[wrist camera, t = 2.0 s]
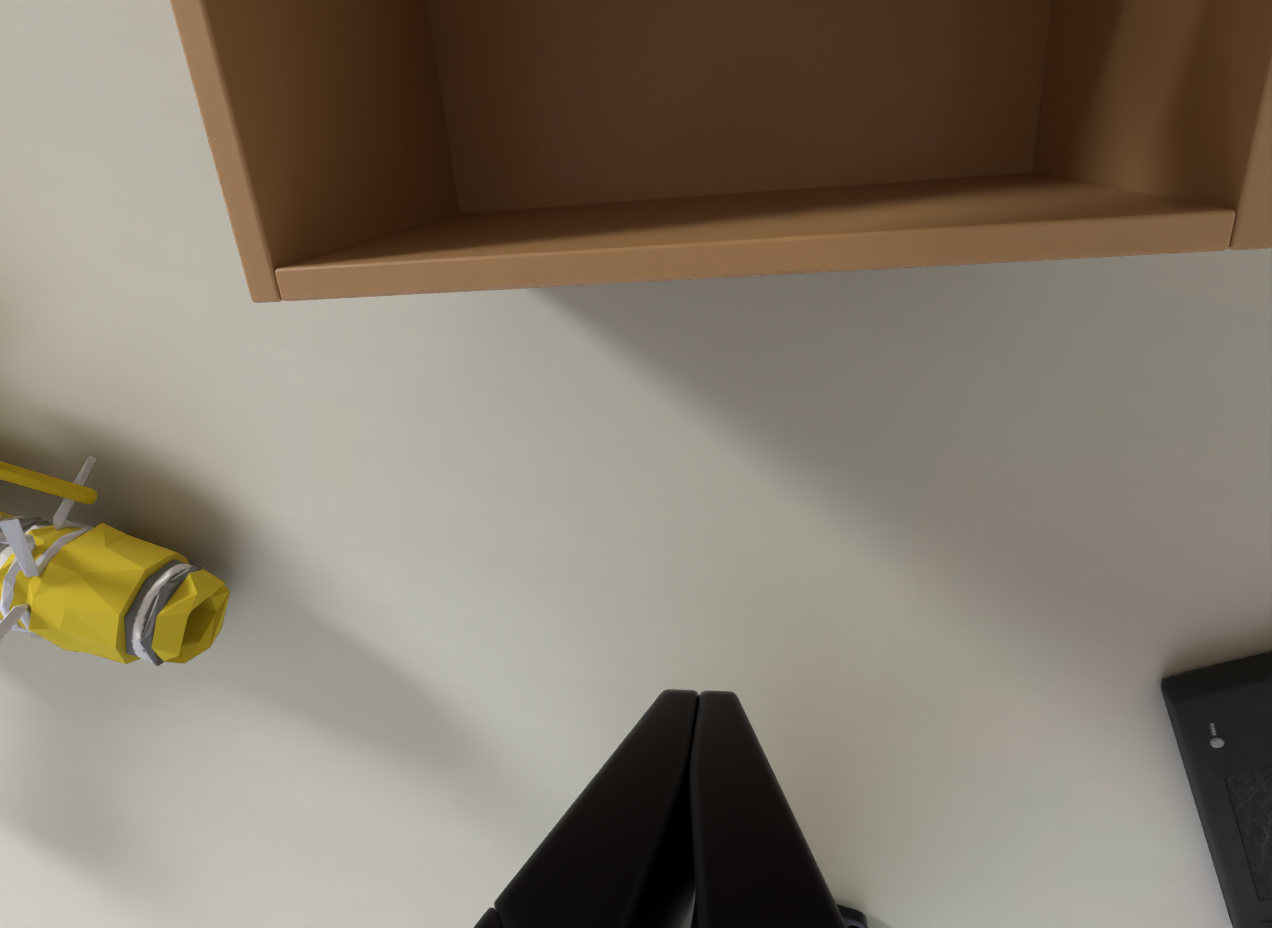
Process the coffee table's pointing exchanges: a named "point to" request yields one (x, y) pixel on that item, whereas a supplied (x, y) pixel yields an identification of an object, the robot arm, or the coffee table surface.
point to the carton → (723, 136)
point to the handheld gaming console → (1231, 775)
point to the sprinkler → (101, 583)
